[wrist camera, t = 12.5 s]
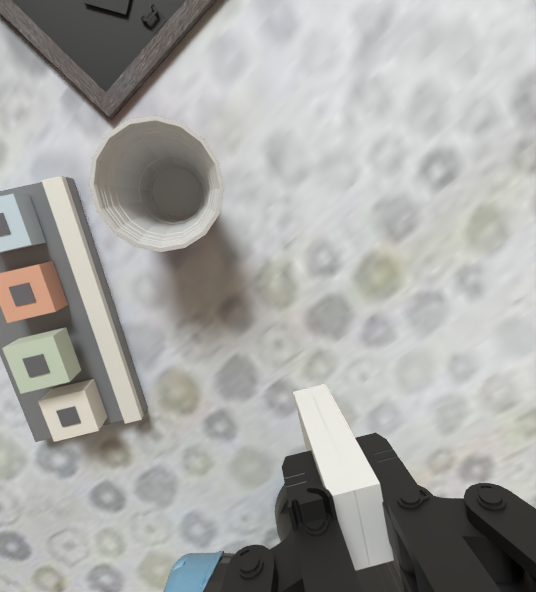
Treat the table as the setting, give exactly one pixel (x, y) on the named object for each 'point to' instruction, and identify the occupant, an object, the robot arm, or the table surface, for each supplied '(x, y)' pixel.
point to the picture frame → (105, 40)
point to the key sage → (42, 360)
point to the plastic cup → (156, 183)
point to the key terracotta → (31, 292)
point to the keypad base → (73, 307)
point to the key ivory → (73, 410)
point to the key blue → (18, 223)
